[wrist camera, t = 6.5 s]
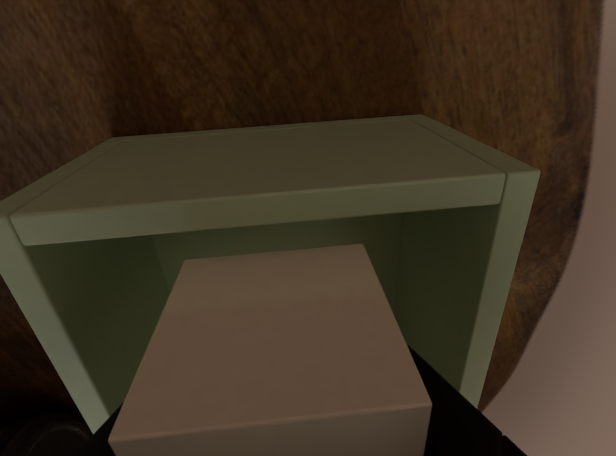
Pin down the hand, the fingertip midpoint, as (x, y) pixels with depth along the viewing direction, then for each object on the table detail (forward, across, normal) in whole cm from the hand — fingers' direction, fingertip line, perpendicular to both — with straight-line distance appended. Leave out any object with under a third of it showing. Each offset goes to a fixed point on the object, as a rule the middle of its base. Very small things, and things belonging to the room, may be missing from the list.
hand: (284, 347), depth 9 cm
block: (+1, 0, 0) cm, 1 cm away
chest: (+8, 0, +4) cm, 9 cm away
